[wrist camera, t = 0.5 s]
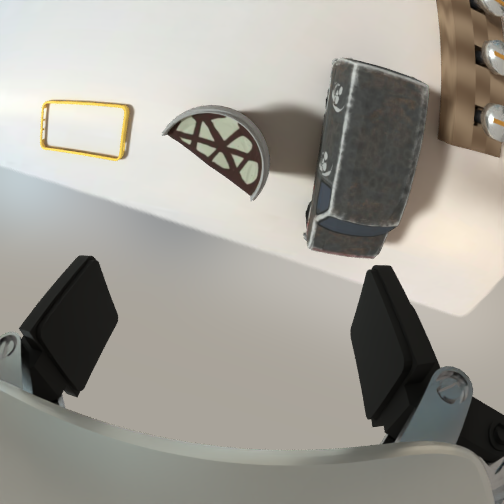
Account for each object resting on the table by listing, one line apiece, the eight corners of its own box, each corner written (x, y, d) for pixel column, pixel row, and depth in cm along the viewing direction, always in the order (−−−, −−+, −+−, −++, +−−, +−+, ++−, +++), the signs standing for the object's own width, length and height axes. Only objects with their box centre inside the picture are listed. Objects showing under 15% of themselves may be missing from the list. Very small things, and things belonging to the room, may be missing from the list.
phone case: (47, 100, 32) (42, 101, 31) (132, 105, 33) (127, 106, 32) (44, 146, 36) (39, 148, 35) (124, 159, 37) (120, 162, 36)
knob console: (431, -30, 17) (443, -37, 13) (481, -6, 16) (495, -9, 13) (437, 139, 31) (452, 145, 28) (484, 150, 31) (499, 157, 27)
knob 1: (458, -15, 15) (480, -23, 11) (482, -2, 15) (505, -7, 10) (462, 11, 18) (486, 6, 13) (486, 23, 18) (511, 21, 13)
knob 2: (466, 95, 25) (492, 100, 20) (489, 104, 24) (515, 111, 20) (464, 128, 27) (489, 138, 22) (487, 135, 27) (511, 145, 22)
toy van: (404, 79, 28) (442, 79, 20) (368, 241, 41) (388, 281, 33) (327, 58, 28) (346, 47, 20) (300, 232, 41) (306, 272, 33)
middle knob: (465, 36, 20) (490, 34, 15) (489, 48, 20) (514, 48, 15) (466, 67, 23) (492, 68, 18) (490, 77, 22) (516, 81, 17)
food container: (290, 142, 34) (296, 160, 26) (259, 176, 37) (255, 204, 29) (214, 84, 31) (193, 81, 23) (186, 121, 34) (157, 132, 25)
